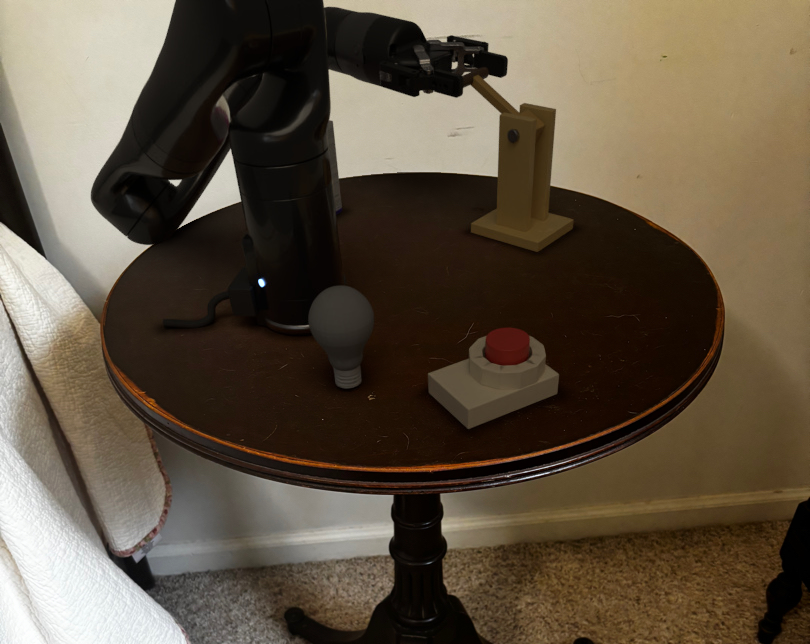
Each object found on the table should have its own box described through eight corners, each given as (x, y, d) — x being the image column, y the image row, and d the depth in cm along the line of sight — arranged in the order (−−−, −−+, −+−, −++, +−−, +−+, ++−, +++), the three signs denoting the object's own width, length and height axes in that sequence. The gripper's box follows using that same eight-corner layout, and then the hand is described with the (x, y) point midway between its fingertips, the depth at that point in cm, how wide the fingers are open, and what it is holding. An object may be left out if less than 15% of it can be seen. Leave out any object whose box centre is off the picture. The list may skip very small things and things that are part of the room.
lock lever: (451, 89, 93) (459, 70, 91) (477, 78, 95) (485, 59, 93) (518, 152, 92) (528, 134, 90) (543, 139, 94) (552, 121, 92)
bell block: (468, 429, 72) (468, 392, 69) (428, 392, 76) (426, 356, 73) (557, 394, 75) (561, 357, 72) (514, 360, 79) (516, 324, 77)
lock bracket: (470, 232, 101) (471, 114, 91) (507, 210, 105) (511, 95, 95) (537, 252, 96) (545, 129, 86) (572, 228, 100) (584, 109, 91)
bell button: (501, 372, 72) (502, 355, 70) (476, 352, 74) (477, 335, 73) (537, 358, 73) (538, 341, 72) (512, 339, 75) (513, 322, 74)
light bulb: (371, 404, 75) (362, 307, 68) (310, 400, 76) (295, 304, 69) (385, 370, 79) (378, 275, 72) (327, 366, 80) (314, 272, 73)
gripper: (417, 69, 106) (517, 95, 99) (342, 99, 99) (444, 129, 91) (417, 3, 101) (522, 25, 93) (338, 29, 93) (445, 56, 86)
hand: (484, 77), depth 92 cm, fingers open, 8 cm apart
